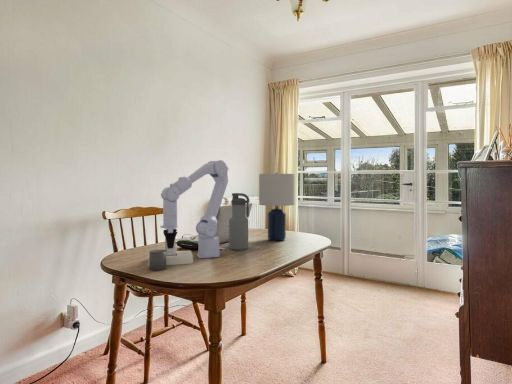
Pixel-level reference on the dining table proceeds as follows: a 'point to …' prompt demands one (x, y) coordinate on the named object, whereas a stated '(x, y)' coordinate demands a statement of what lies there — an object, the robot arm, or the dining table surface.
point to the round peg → (157, 260)
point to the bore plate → (179, 258)
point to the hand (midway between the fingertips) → (170, 247)
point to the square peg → (170, 251)
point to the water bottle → (239, 223)
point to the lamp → (276, 201)
